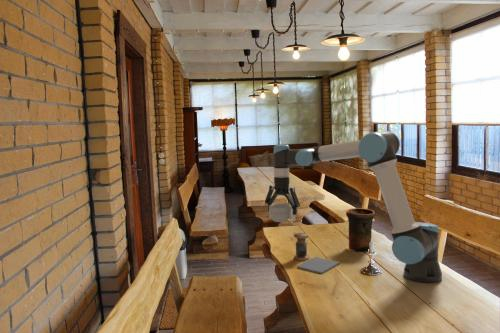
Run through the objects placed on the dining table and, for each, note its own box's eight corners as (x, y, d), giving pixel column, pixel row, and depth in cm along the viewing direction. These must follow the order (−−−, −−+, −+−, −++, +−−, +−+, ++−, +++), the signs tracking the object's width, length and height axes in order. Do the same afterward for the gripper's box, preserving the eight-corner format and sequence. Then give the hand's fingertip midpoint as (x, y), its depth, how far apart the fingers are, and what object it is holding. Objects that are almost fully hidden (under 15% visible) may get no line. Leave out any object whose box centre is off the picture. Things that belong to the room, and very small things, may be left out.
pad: (339, 263, 199) (339, 262, 199) (322, 274, 187) (322, 272, 187) (315, 258, 207) (315, 256, 207) (297, 267, 195) (297, 266, 195)
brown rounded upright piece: (311, 257, 208) (311, 234, 207) (303, 261, 203) (303, 237, 201) (299, 255, 213) (299, 231, 211) (291, 258, 207) (291, 234, 206)
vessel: (363, 242, 231) (364, 206, 228) (379, 250, 217) (380, 212, 214) (340, 245, 226) (340, 209, 223) (355, 254, 213) (355, 215, 210)
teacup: (266, 222, 208) (266, 206, 207) (273, 217, 218) (273, 202, 217) (293, 224, 202) (293, 208, 202) (300, 219, 212) (299, 203, 211)
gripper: (307, 177, 203) (307, 221, 205) (266, 173, 219) (267, 214, 221) (298, 179, 197) (298, 224, 200) (257, 175, 213) (258, 217, 215)
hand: (282, 219), depth 210 cm, fingers closed on teacup, 12 cm apart
